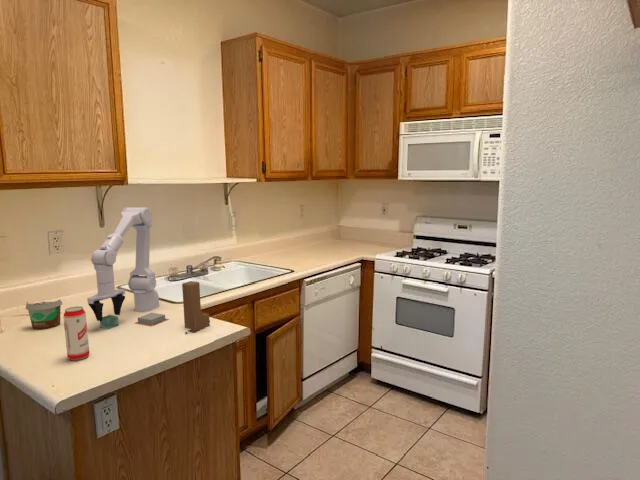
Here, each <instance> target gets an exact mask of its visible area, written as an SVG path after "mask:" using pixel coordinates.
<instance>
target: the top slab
mask: <svg viewBox="0 0 640 480" xmlns="http://www.w3.org/2000/svg"><path fill="white" fill-rule="evenodd" d="M165 319H166V314H162V313H156V312H150V313H148V314H144V315H142V316H139V317H137V322H138V323H142V324H148V325H153V324H156V323H158V322H161V321H163V320H165Z"/></svg>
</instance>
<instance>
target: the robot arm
mask: <svg viewBox="0 0 640 480" xmlns="http://www.w3.org/2000/svg"><path fill="white" fill-rule="evenodd" d="M120 217H121V219H120V221H119V223H118V225H117V226H116V227H115V230H114V231H113V233H110V234H108V235H107V236H106V238H105V240H104V241H103V243H102V244H101V246H100V247H99V248H98V249H95V251H94V252H92V255H91V258H90V261H91V264H92V265H93V268H94V271H95V274H96V276H95V277H96V285H97V287H96V288H97V294H94V295H93V296H90V297H88V298H86V299H87V304H88V306H89V307H90V308H91V310H92V311H93V314H94V316H95V318H96V321H98V322H100V321H102V319H103V317H104V316H103V307H104V303H103V302H101V301H104V300H108V299H111V302H112V305H113V313H114V316H120V315H121V312H122V310H121V309H122V306H123V304H124V301H125V300H126V296H125V294H126V289H123V288H120V289H116V287H115V286H116V285H115V277H114V275H115V274H114V273H115V272H114V264H115V263H116V261H117V255H118V251H119V250H120V248H121V246H122V245H123V243H124V240H123V238H124V236H125V235H126V234H127V233H128V231H129V230H130V229H131V227H132V228H134V230H136V237H135V238H136V241H135V242H136V243H135V266H134V267H135V268H134V269H133V270H132V271H131V272H130V273H129V278H128V282H127V285H128V288H129V290H130V291H131V293H133V301H134V304H133V305H134V311H135V313H147V312H151V311H153V310H156V309H157V308H160V298H159V297H160V296H159V293H158V291H157V290H156V289H155V288H156V286H157V280H156V273H155V272H154V271H153V270H152V269H150V252H151V250H150V247H151V228H152V225H153V224H152V222H153V221H152V220H153V219H152V217H153V213H152V212H151V210H150V208H149V207H147V206H145V207H131V206H130V207H128V206H125V207H124V208H123V209H122V212H121V213H120Z"/></svg>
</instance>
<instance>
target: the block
mask: <svg viewBox="0 0 640 480" xmlns="http://www.w3.org/2000/svg"><path fill="white" fill-rule="evenodd" d="M102 317H103V319H102V321H99V325H100V326H99V328H101V329H104V330H111V329H114V328H116V327H119V326H120V325H119V315H115V314H114V315H113V314H108V315H105V316H102Z"/></svg>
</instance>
